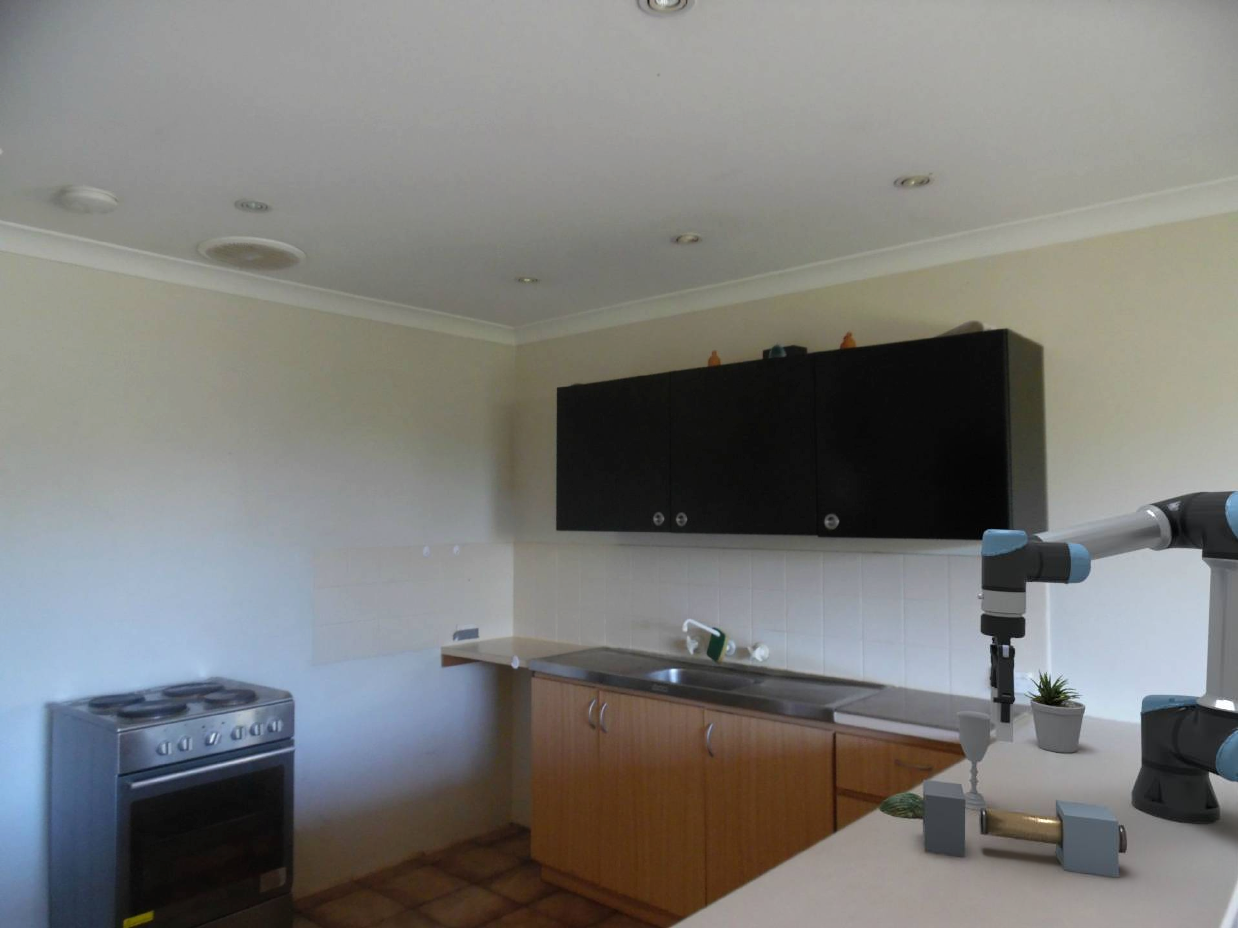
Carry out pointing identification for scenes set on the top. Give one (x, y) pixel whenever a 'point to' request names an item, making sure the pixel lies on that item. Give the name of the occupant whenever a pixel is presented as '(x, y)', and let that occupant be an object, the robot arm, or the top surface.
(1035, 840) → the slip tube
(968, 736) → the chalice
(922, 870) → the top surface
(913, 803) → the seashell
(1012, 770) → the top surface
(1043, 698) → the potted plant
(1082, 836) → the blue-grey cube-like block
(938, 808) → the socket
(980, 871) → the top surface
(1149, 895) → the top surface
